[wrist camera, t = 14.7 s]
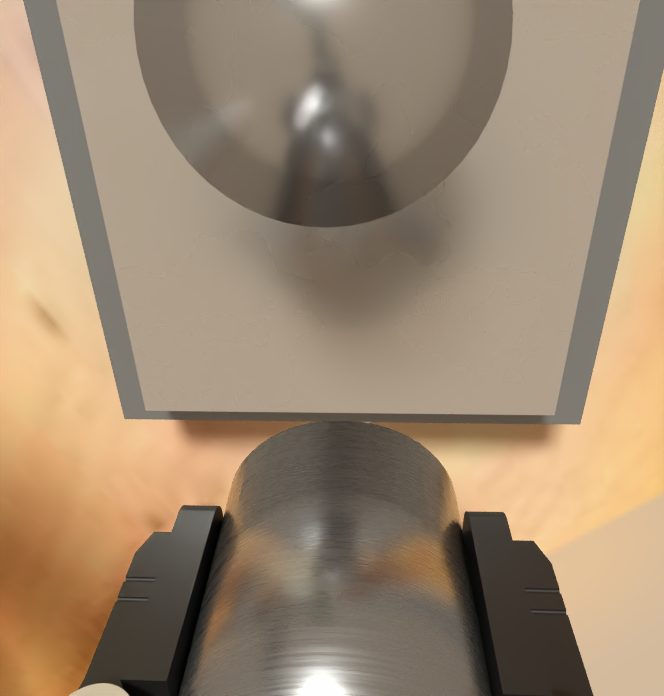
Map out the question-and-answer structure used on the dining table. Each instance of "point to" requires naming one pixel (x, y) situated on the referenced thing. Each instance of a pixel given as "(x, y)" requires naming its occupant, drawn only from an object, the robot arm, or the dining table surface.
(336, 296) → the platform
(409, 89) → the cylinder
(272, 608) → the cylinder
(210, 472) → the dining table surface
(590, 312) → the scale
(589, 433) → the dining table surface
